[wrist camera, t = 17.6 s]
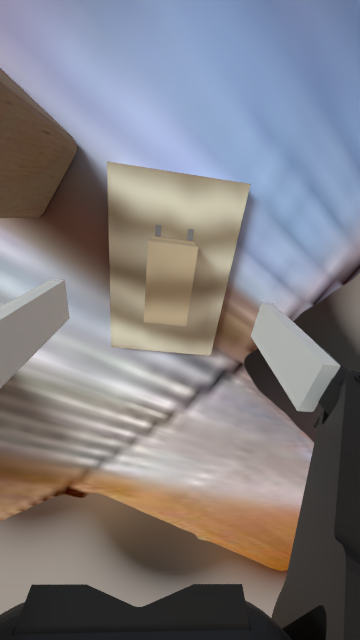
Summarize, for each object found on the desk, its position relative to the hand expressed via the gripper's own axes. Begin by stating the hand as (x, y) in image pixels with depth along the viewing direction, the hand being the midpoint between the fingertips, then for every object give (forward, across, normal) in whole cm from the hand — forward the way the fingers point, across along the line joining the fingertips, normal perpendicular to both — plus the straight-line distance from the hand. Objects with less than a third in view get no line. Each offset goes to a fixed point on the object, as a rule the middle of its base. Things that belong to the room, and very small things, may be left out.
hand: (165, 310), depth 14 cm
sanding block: (+15, 0, -1) cm, 15 cm away
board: (+17, 0, -2) cm, 17 cm away
